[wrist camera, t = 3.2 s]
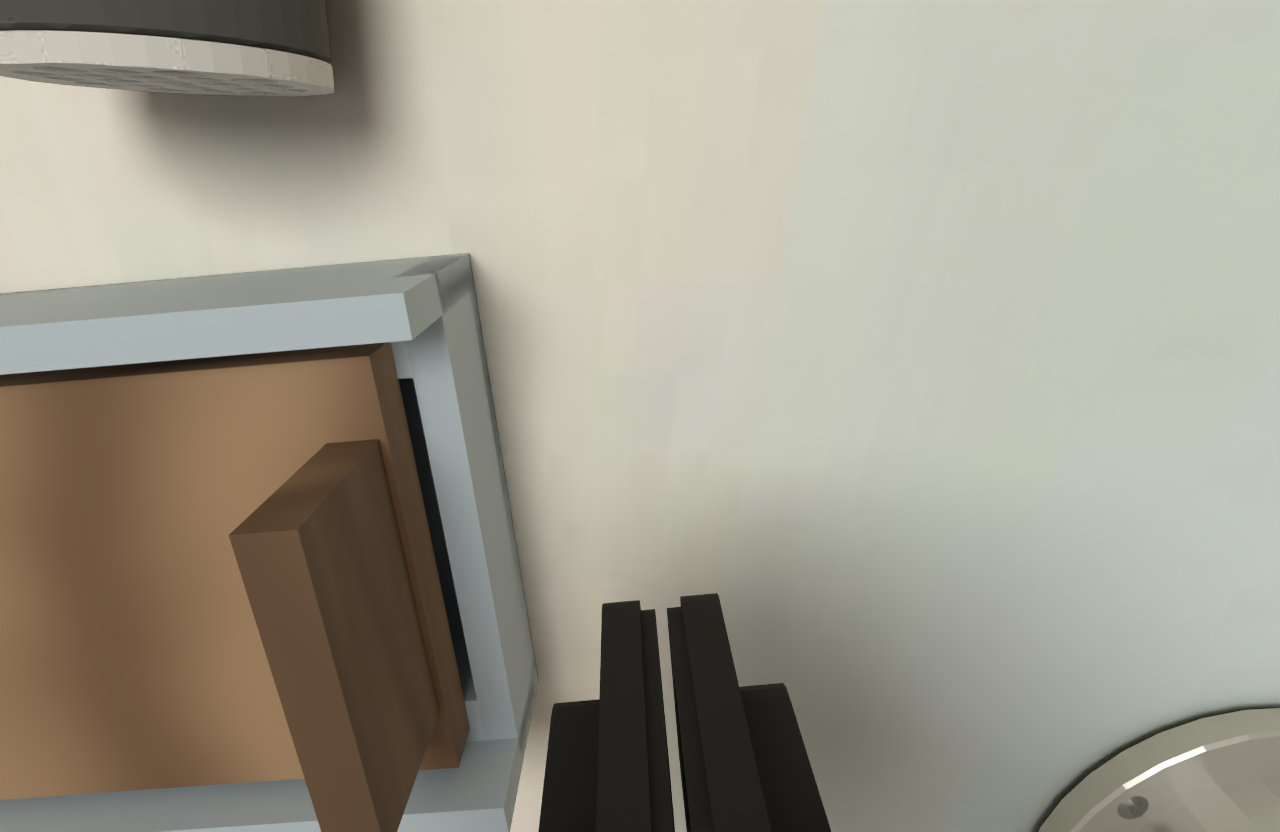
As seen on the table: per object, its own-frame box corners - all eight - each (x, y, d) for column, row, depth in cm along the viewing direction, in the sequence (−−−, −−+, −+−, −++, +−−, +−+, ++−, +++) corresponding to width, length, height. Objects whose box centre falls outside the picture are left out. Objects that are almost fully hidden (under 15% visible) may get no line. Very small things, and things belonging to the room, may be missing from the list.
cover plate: (390, 339, 14) (279, 424, 10) (470, 728, 18) (414, 922, 13) (-195, 388, 15) (-559, 492, 10) (-9, 762, 18) (-222, 964, 13)
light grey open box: (468, 253, 17) (402, 292, 12) (537, 680, 21) (508, 835, 16) (-127, 304, 17) (-420, 363, 12) (56, 715, 21) (-111, 877, 16)
